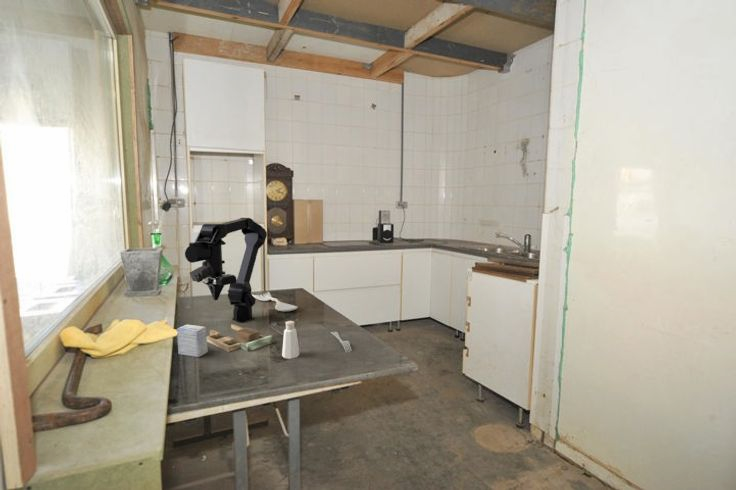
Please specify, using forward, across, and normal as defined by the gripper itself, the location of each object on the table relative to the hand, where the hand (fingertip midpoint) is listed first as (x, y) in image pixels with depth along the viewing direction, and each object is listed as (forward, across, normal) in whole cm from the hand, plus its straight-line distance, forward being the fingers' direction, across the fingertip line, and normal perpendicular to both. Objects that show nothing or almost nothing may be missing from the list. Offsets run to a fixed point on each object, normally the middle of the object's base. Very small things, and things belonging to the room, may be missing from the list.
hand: (215, 300), depth 142 cm
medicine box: (+12, +12, -17) cm, 24 cm away
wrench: (+12, +19, +14) cm, 27 cm away
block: (+12, +18, 0) cm, 22 cm away
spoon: (+13, -10, +36) cm, 39 cm away
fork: (+13, +43, +20) cm, 49 cm away
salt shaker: (+12, +38, +1) cm, 40 cm away
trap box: (+12, +13, -2) cm, 18 cm away
